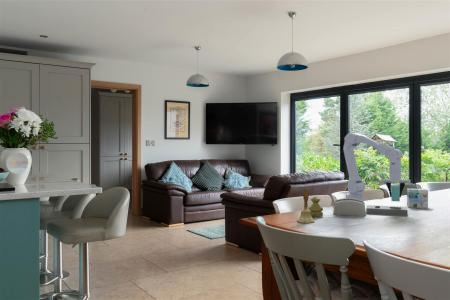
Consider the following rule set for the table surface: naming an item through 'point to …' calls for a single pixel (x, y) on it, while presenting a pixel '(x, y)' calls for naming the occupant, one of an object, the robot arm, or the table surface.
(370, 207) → the bore plate
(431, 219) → the table surface
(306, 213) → the hand bell
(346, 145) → the robot arm
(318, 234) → the table surface
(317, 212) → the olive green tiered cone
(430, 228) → the table surface
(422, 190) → the light bulb box
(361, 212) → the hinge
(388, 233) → the table surface
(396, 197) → the square peg
